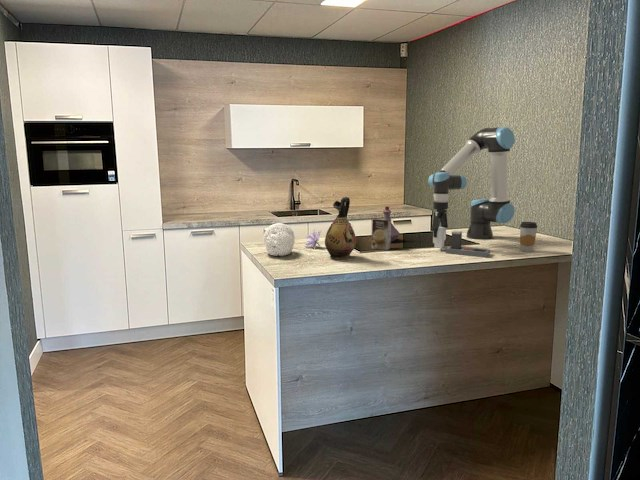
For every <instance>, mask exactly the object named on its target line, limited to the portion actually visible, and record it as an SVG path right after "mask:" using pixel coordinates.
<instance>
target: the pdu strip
mask: <svg viewBox="0 0 640 480" xmlns="http://www.w3.org/2000/svg"><path fill="white" fill-rule="evenodd" d="M439 249H440V250H439V251H440V252H444V253H445V254H447V255H448V254H449V255H456V256H457V255H458V256H465V257H466V256H468V257H477V258H484V259H485V258H487V257H489V256H490V255H491V249H489V248H488V249H486V248H478V247H468V246H461V249H451V245H450V246H448V247H447V248H439Z"/></svg>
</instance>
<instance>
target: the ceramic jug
mask: <svg viewBox="0 0 640 480" xmlns="http://www.w3.org/2000/svg"><path fill="white" fill-rule="evenodd" d="M350 201H351V200H350V197H349V196H345V197H344V196H343V197H342V198H341V199H340V201H338V200H335V201H334V202H333V204H332V207H333V208H334V209H336V210H337V211H338V214H337V215H336V218H335V219H334V220H333V221H332V222H331V224H330V226H329V228H328V229H327V231H326V235H325V238H324V246H325V249H326V250H327V252H328V254H329V258H331V259H333V260H335V259H337V260H345V258H346V259H349V258H350V255H351V254H352V252H353V251H354V249H355V247H356V244H357V238H356V234H355V230H354V228H353V226H352V225H351V222H350V221H349V220H348V213H349V209H350V205H351V202H350Z"/></svg>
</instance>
